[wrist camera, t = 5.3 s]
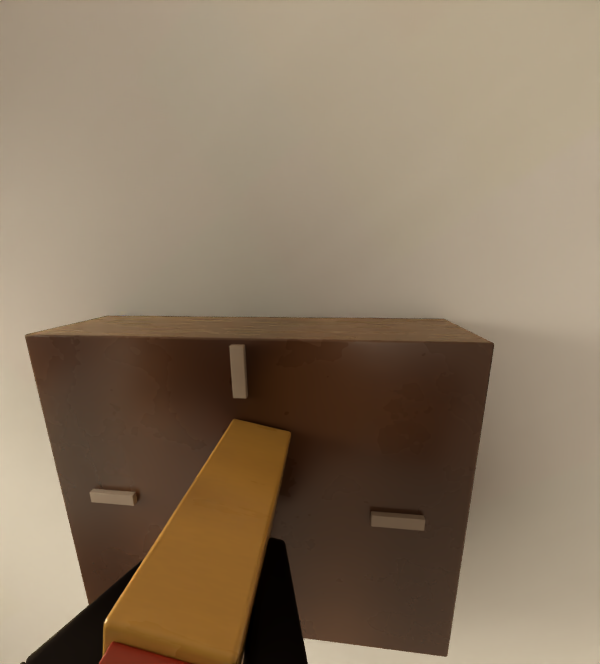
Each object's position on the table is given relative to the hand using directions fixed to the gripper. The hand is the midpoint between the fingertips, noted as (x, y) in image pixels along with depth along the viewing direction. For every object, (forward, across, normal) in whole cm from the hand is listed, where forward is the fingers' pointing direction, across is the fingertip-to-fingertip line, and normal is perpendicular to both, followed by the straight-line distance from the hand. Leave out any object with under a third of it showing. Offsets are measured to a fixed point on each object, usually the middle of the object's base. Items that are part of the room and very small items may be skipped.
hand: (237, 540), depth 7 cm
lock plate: (+4, 0, 0) cm, 4 cm away
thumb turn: (+1, 0, 0) cm, 1 cm away
